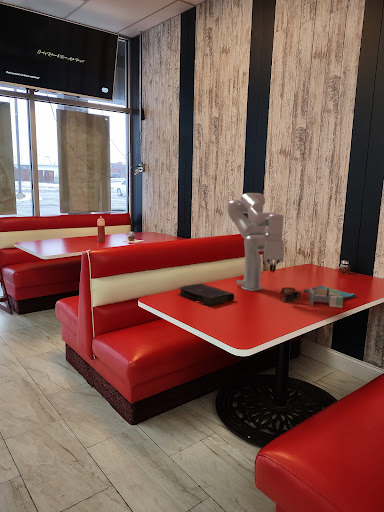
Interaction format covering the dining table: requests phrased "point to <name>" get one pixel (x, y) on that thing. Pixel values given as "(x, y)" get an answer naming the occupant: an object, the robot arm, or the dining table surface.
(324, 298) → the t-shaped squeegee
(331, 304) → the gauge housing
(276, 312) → the dining table surface
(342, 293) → the dish towel
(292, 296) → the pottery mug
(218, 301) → the diary
